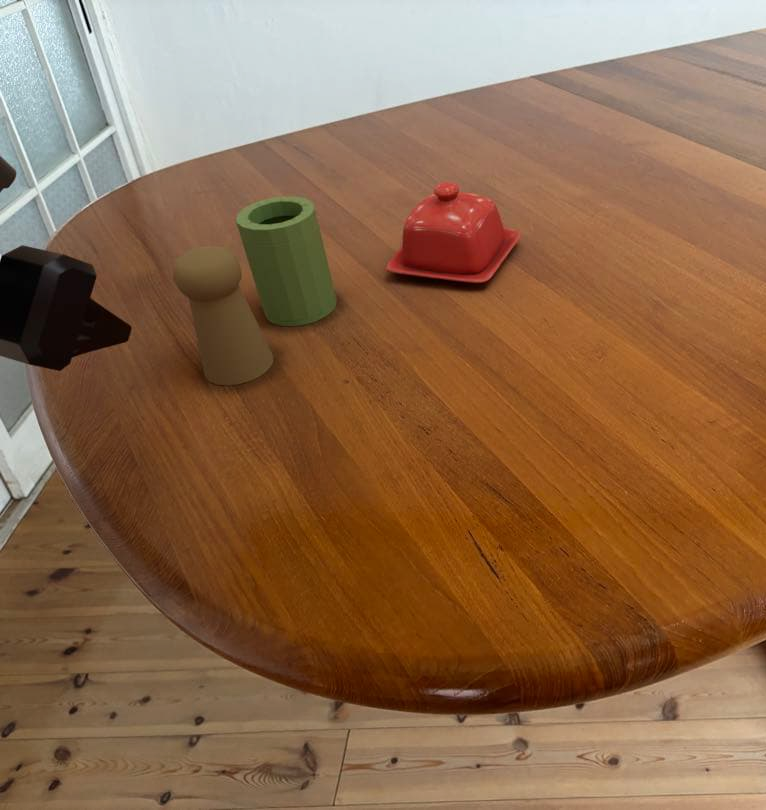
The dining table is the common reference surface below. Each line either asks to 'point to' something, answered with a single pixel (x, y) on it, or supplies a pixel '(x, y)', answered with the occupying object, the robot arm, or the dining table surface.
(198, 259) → the tan peg doll
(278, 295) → the green cylindrical container
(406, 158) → the dining table surface
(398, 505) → the dining table surface
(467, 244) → the butter dish
